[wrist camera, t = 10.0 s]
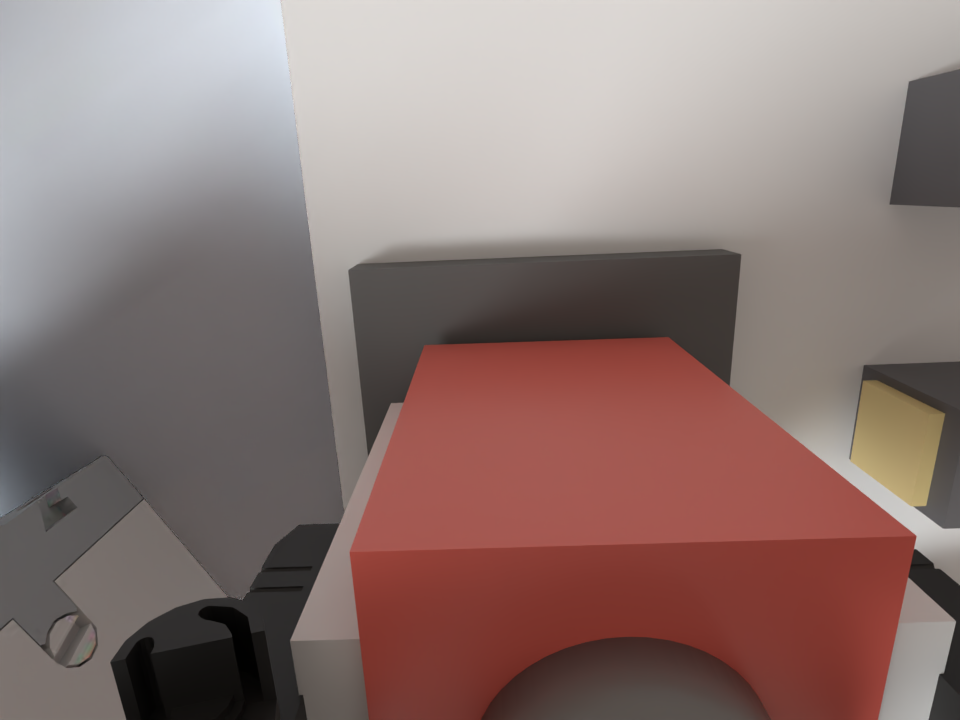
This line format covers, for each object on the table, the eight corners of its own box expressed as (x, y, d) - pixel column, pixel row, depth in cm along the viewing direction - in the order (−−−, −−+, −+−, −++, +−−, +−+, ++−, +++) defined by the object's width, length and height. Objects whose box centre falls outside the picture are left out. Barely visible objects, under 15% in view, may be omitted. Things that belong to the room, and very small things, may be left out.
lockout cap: (655, 547, 13) (896, 1047, 6) (437, 554, 13) (378, 1056, 6) (668, 337, 12) (1017, 616, 4) (424, 345, 12) (319, 635, 4)
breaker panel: (939, 698, 19) (1096, 875, 14) (387, 714, 19) (354, 891, 14) (1132, -108, 12) (1544, -295, 8) (299, -66, 13) (188, -221, 8)
